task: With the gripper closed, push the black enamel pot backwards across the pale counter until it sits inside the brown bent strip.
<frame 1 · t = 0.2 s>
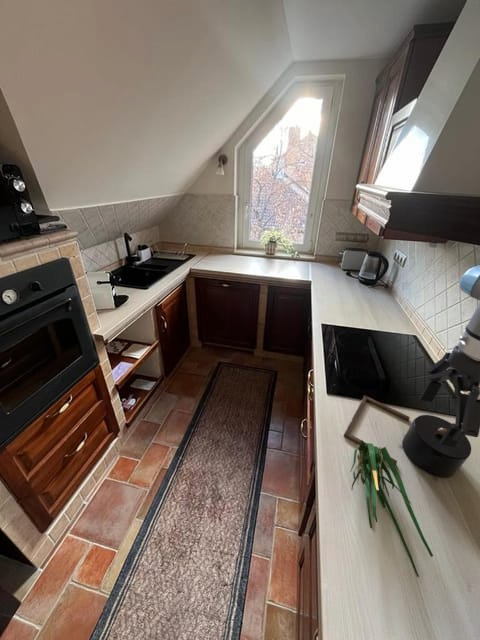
hand: (435, 420, 64), 20 cm above the worktop, tool pointing down, fingers open, 13 cm apart
brown bent strip: (385, 431, 84), on the worktop
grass: (372, 501, 66), on the worktop
pot: (428, 454, 77), on the worktop
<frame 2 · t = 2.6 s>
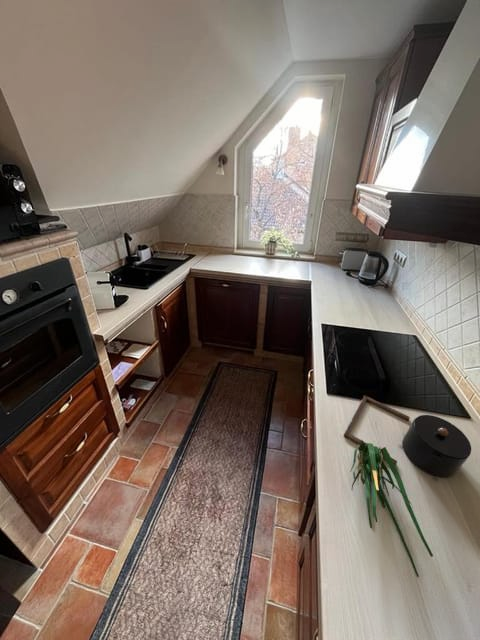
nothing on the worktop moved.
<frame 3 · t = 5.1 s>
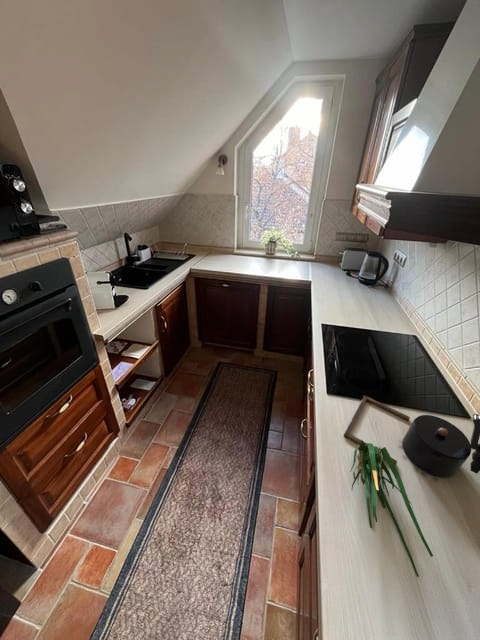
hand: (473, 468, 70), 4 cm above the worktop, tool pointing down, fingers closed
pot: (428, 454, 77), on the worktop, touching gripper
everything else where it was.
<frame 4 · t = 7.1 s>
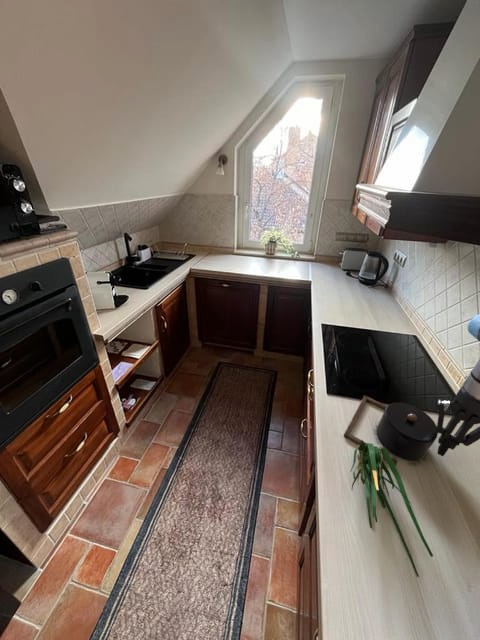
hand: (440, 451, 74), 4 cm above the worktop, tool pointing down, fingers closed
pot: (400, 439, 81), on the worktop, touching gripper
everything else where it was.
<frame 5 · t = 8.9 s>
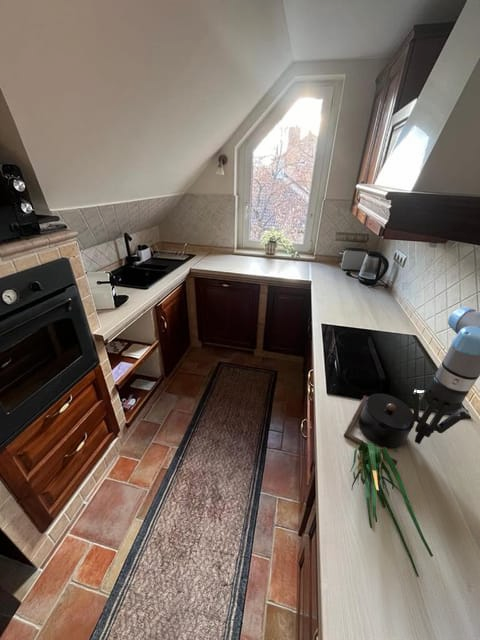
hand: (417, 439, 77), 4 cm above the worktop, tool pointing down, fingers closed
pot: (380, 429, 85), on the worktop, touching gripper
everything else where it was.
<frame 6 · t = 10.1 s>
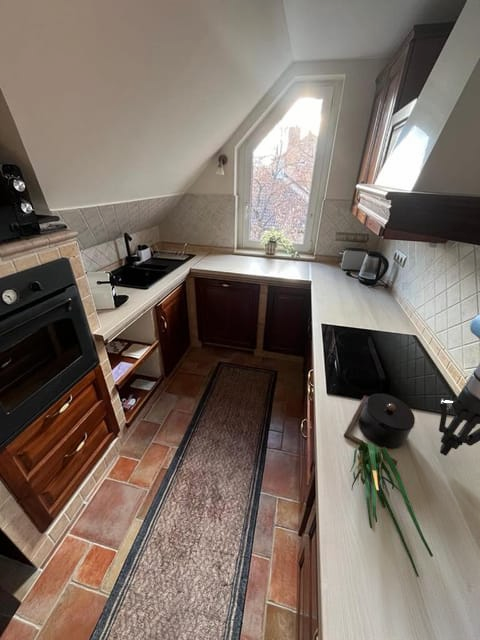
hand: (443, 451, 74), 4 cm above the worktop, tool pointing down, fingers closed
pot: (380, 429, 85), on the worktop
everything else where it was.
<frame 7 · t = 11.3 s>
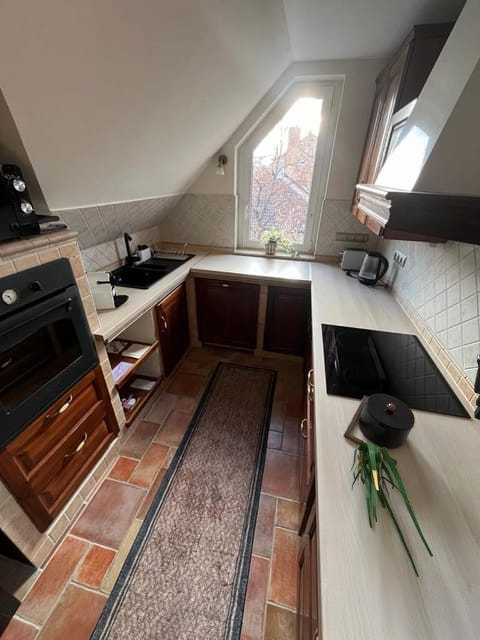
hand: (477, 416, 66), 20 cm above the worktop, tool pointing down, fingers closed
nothing on the worktop moved.
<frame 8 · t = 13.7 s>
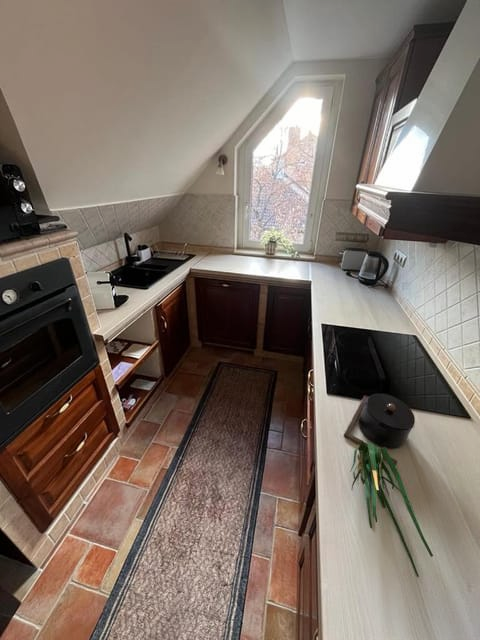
nothing on the worktop moved.
at the end: pot inside the target area (1.2 cm from its centre), on the worktop; pot tilted 0°; pot moved 13.5 cm from its start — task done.
